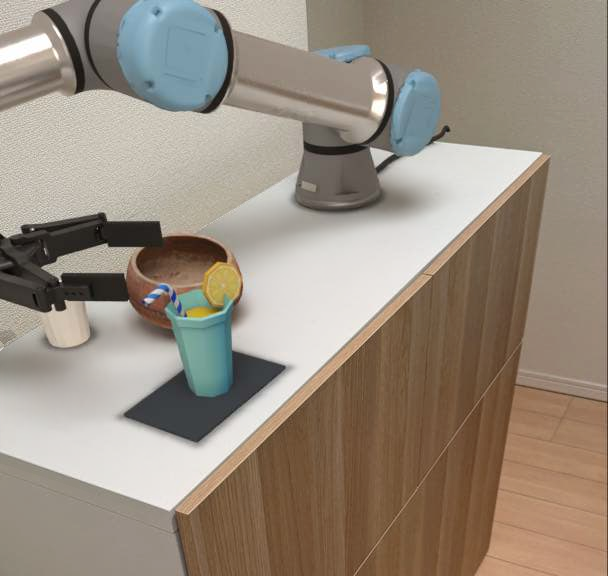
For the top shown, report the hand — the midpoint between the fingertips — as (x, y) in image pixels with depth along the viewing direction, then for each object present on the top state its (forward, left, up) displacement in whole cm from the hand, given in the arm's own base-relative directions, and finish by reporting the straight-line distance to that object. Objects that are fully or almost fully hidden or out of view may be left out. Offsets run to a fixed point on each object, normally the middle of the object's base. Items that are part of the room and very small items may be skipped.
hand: (144, 259), depth 83 cm
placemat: (-2, +4, -16) cm, 17 cm away
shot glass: (-4, -21, -17) cm, 27 cm away
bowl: (-16, -9, -17) cm, 25 cm away
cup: (-2, +4, -16) cm, 17 cm away
